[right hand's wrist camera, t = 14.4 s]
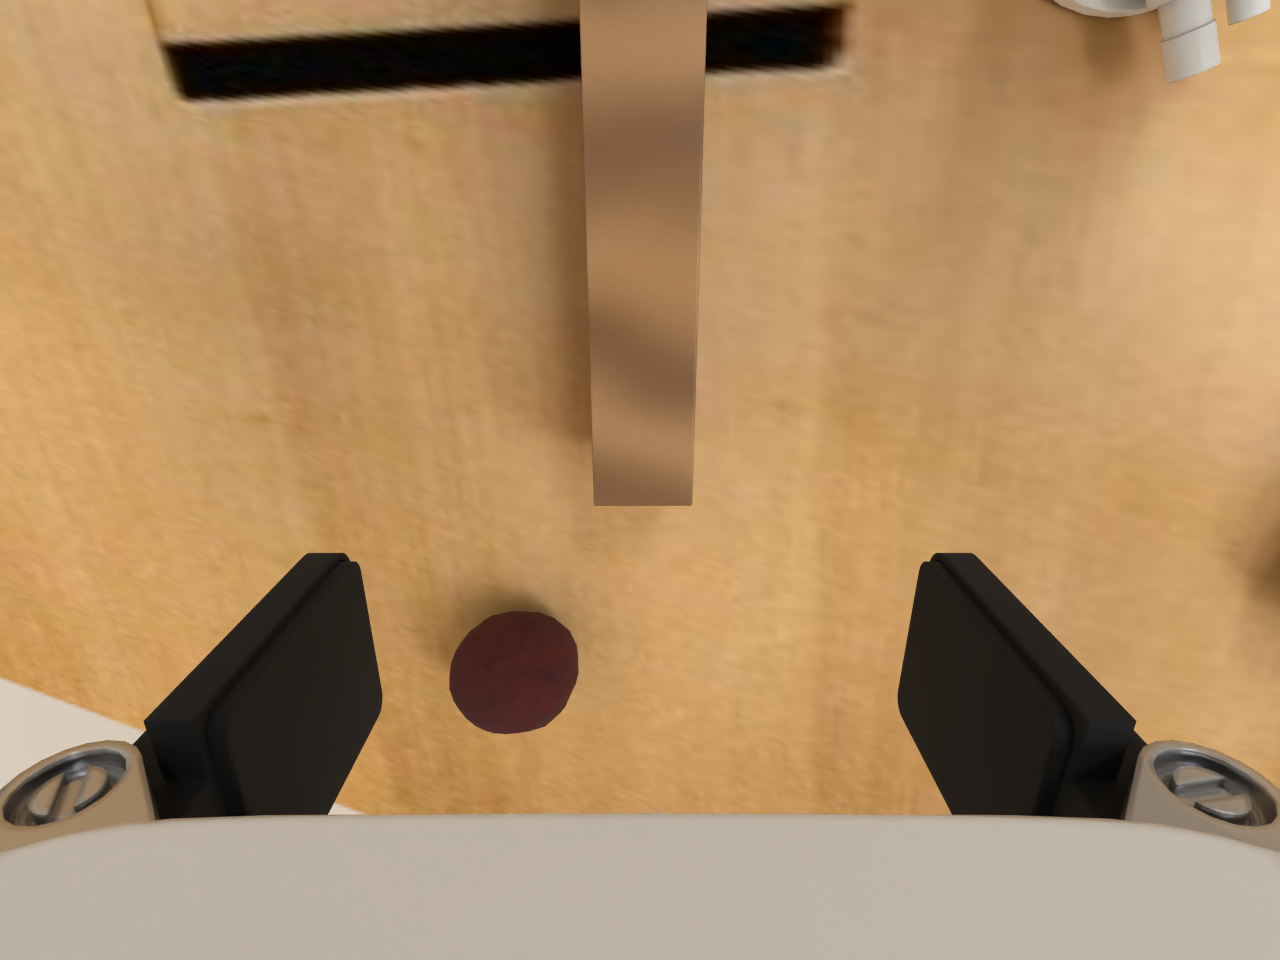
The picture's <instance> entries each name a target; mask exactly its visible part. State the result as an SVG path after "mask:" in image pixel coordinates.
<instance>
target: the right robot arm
mask: <svg viewBox="0 0 1280 960" xmlns="http://www.w3.org/2000/svg"><path fill="white" fill-rule="evenodd" d="M1053 1H1055V2H1056V3H1058V4H1059V5H1060V6H1063V7H1065V8H1068V9H1070V10H1073V11H1076V12H1078V13H1081V14H1083V15H1090V16H1098V17H1106V18H1113V17H1123V16H1133V15H1138V14H1141V13H1144V12H1148V11H1151V10H1154V9H1157V8H1158V15H1159V22H1160V30H1161V37H1162V41H1161V42H1160V49H1161V56H1162V63H1163V71H1164V78H1165V83H1166V84H1169V83H1173V82H1176V81H1180V80H1183V79H1186V78H1188V77H1191V76H1194V75H1196V74H1199V73H1201V72H1204V71H1206V70H1208V69H1210V68H1213V67H1215V66H1216V65H1218V64H1220V62H1221V60H1220V51H1219V42H1218V33H1217V23H1216V19H1214V20H1213V12H1212V3H1211V0H1053ZM1270 8H1271V6H1270V0H1226V9H1227V18H1228V25H1232V24H1235V23H1238V22H1241V21H1243V20H1246V19H1249V18H1251V17H1253V16H1256V15H1258V14H1260V13H1263V12H1265V11H1267V10H1269V9H1270ZM381 706H382V689H381V683H380V677H379V672H378V666H377V660H376V654H375V649H374V643H373V637H372V632H371V626H370V620H369V614H368V609H367V603H366V597H365V592H364V586H363V580H362V574H361V570H360V566H359V564H358V563H357V562H350V560H349V558H348V556H347V555H346V554H344V553H308V554H306V555H305V556H303V558H302V559H301V560H300V561H299V562H298V563H297V564H296V565H295V566H294V567H293V568H292V569H291V570H290V571H289V572H288V573H287V574H286V575H285V576H284V577H283V578H282V579H281V580H280V581H279V582H278V583H277V584H276V585H275V586H274V587H273V588H272V589H271V590H270V592H269V593H268V594H267V595H266V596H265V597H264V598H263V599H262V600H261V601H260V602H259V603H258V604H257V605H256V606H255V607H254V608H253V609H252V610H251V611H250V612H249V613H248V614H247V615H246V616H245V617H244V618H243V619H242V620H241V621H240V622H239V623H238V624H237V625H236V627H235V628H234V629H233V630H232V631H231V632H230V633H229V634H228V635H227V636H226V637H225V638H224V639H223V640H222V641H221V642H220V643H219V644H218V645H217V646H216V647H215V648H214V649H213V650H212V651H211V652H210V653H209V654H208V655H207V656H206V657H205V658H204V659H203V661H202V662H201V663H200V664H199V665H198V666H197V667H196V668H195V669H194V670H193V671H192V672H191V673H190V674H189V675H188V676H187V677H186V678H185V679H184V680H183V681H182V682H181V683H180V684H179V685H178V686H177V687H176V688H175V689H174V690H173V691H172V692H171V693H170V694H169V696H168V697H167V698H166V699H165V700H164V701H163V702H162V703H161V704H160V705H159V706H158V707H157V708H156V709H155V710H154V711H153V712H152V713H151V714H150V715H149V716H148V717H147V718H146V719H145V720H144V724H145V727H146V731H145V732H144V733H143V734H142V735H141V736H140V737H139V739H138V740H137V741H136V742H135V743H134V744H133V745H132V744H129V743H127V742H125V741H112V740H106V741H99V742H93V743H86V744H83V745H80V746H76V747H73V748H70V749H67V750H64V751H61V752H59V753H57V754H55V755H53V756H50V757H48V758H46V759H44V760H41V761H40V762H38V763H36V764H35V765H33V766H31V767H30V768H28V769H27V770H25V771H23V772H22V773H20V774H19V775H17V776H16V777H15V778H14V779H13V780H11V781H10V782H9V783H8V784H7V785H5V786H4V787H3V788H2V789H1V790H0V960H1280V790H1279V789H1278V788H1277V787H1276V786H1275V785H1273V784H1272V783H1271V782H1270V781H1269V780H1267V779H1266V778H1265V777H1264V776H1263V775H1261V774H1260V773H1258V772H1257V771H1255V770H1253V769H1252V768H1250V767H1249V766H1247V765H1245V764H1244V763H1242V762H1240V761H1239V760H1236V759H1234V758H1232V757H1230V756H1227V755H1225V754H1223V753H1221V752H1219V751H1216V750H1213V749H1210V748H1207V747H1204V746H1200V745H1197V744H1194V743H1188V742H1181V741H1174V740H1168V741H1155V742H1153V743H1151V744H1148V745H1147V744H1146V743H1145V742H1144V741H1143V740H1142V738H1141V737H1140V736H1139V735H1138V734H1137V733H1136V732H1135V731H1134V727H1135V724H1136V720H1135V719H1134V718H1133V717H1132V716H1131V715H1130V714H1129V713H1128V712H1127V711H1126V710H1125V709H1124V708H1123V707H1122V706H1121V705H1120V704H1119V703H1118V702H1117V701H1116V700H1115V699H1114V698H1113V697H1112V696H1111V694H1110V693H1109V692H1108V691H1107V690H1106V689H1105V688H1104V687H1103V686H1102V685H1101V684H1100V683H1099V682H1098V681H1097V680H1096V679H1095V678H1094V677H1093V676H1092V675H1091V674H1090V673H1089V672H1088V671H1087V670H1086V669H1085V668H1084V667H1083V666H1082V665H1081V664H1080V663H1079V662H1078V661H1077V659H1076V658H1075V657H1074V656H1073V655H1072V654H1071V653H1070V652H1069V651H1068V650H1067V649H1066V648H1065V647H1064V646H1063V645H1062V644H1061V643H1060V642H1059V641H1058V640H1057V639H1056V638H1055V637H1054V636H1053V635H1052V634H1051V633H1050V632H1049V631H1048V630H1047V629H1046V628H1045V627H1044V625H1043V624H1042V623H1041V622H1040V621H1039V620H1038V619H1037V618H1036V617H1035V616H1034V615H1033V614H1032V613H1031V612H1030V611H1029V610H1028V609H1027V608H1026V607H1025V606H1024V605H1023V604H1022V603H1021V602H1020V601H1019V600H1018V599H1017V598H1016V597H1015V596H1014V595H1013V594H1012V593H1011V592H1010V590H1009V589H1008V588H1007V587H1006V586H1005V585H1004V584H1003V583H1002V582H1001V581H1000V580H999V579H998V578H997V577H996V576H995V575H994V574H993V573H992V572H991V571H990V570H989V569H988V568H987V567H986V566H985V565H984V564H983V563H982V562H981V561H980V560H979V559H978V558H977V556H975V555H974V554H972V553H936V554H934V555H933V556H932V558H931V560H930V562H923V563H922V564H921V566H920V570H919V574H918V580H917V586H916V592H915V597H914V603H913V609H912V614H911V620H910V626H909V632H908V637H907V643H906V649H905V654H904V660H903V666H902V672H901V677H900V683H899V689H898V706H899V711H900V714H901V716H902V718H903V720H904V722H905V724H906V726H907V728H908V730H909V732H910V734H911V736H912V738H913V740H914V742H915V744H916V746H917V747H918V749H919V751H920V753H921V755H922V757H923V759H924V761H925V763H926V765H927V767H928V769H929V771H930V773H931V775H932V777H933V778H934V780H935V782H936V784H937V786H938V788H939V790H940V792H941V794H942V796H943V798H944V800H945V802H946V804H947V806H948V807H949V809H950V811H951V813H952V815H893V814H403V815H328V813H329V811H330V809H331V807H332V806H333V804H334V802H335V800H336V798H337V796H338V794H339V792H340V790H341V788H342V786H343V784H344V782H345V780H346V778H347V777H348V775H349V773H350V771H351V769H352V767H353V765H354V763H355V761H356V759H357V757H358V755H359V753H360V751H361V749H362V747H363V746H364V744H365V742H366V740H367V738H368V736H369V734H370V732H371V730H372V728H373V726H374V724H375V722H376V720H377V718H378V716H379V714H380V711H381Z"/></svg>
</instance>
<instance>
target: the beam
mask: <svg viewBox="0 0 1280 960" xmlns="http://www.w3.org/2000/svg"><path fill="white" fill-rule="evenodd" d="M579 8H580V42H581V77H582V111H583V145H584V179H585V214H586V248H587V282H588V316H589V350H590V385H591V419H592V453H593V487H594V505H595V506H691V505H692V494H693V461H694V427H695V394H696V360H697V327H698V293H699V259H700V226H701V192H702V159H703V125H704V92H705V58H706V25H707V0H579Z"/></svg>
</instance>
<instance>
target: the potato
mask: <svg viewBox="0 0 1280 960" xmlns="http://www.w3.org/2000/svg"><path fill="white" fill-rule="evenodd" d="M577 676H578V652H577V645H576V643H575V641H574V639H573V637H572V635H571V633H570V631H569V630H568V629H567V628H566V627H564V626H563V625H562V624H561V623H559V622H558V621H557V620H556V619H555V618H552V617H549V616H547V615H544V614H541V613H536V612H521V611H511V612H507V613H502V614H498V615H493V616H490V617H489V618H487V619H486V620H485V621H483V622H482V623H480V624H479V625H478V626H476V627H475V628H474V629H472V630H471V631H470V632H469V633H468V635H467V636H466V637H465V638H464V640H463V641H462V642H461V644H460V645H459V647H458V648H457V650H456V652H455V654H454V657H453V660H452V663H451V669H450V685H449V689H450V692H451V695H452V697H453V700H454V702H455V704H456V705H457V707H458V709H459V710H460V711H461V712H462V714H463V715H464V716H465V718H466V719H468V720H469V721H470V722H471V723H473V724H474V725H475V726H477V727H479V728H481V729H483V730H486V731H489V732H492V733H500V734H512V733H521V732H527V731H531V730H535V729H538V728H541V727H544V726H546V725H547V724H548V723H549V722H551V721H552V720H553V719H554V718H555V717H556V716H557V715H558V714H560V713H561V711H562V710H563V709H564V708H565V706H566V704H567V701H568V699H569V697H570V695H571V693H572V690H573V688H574V686H575V684H576V680H577Z"/></svg>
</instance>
